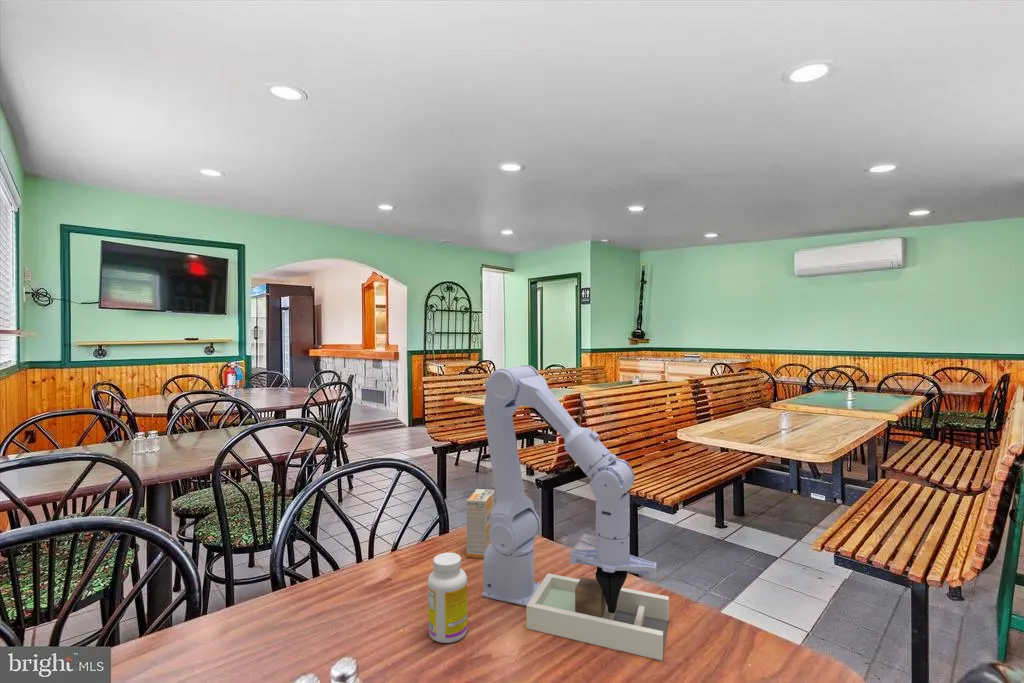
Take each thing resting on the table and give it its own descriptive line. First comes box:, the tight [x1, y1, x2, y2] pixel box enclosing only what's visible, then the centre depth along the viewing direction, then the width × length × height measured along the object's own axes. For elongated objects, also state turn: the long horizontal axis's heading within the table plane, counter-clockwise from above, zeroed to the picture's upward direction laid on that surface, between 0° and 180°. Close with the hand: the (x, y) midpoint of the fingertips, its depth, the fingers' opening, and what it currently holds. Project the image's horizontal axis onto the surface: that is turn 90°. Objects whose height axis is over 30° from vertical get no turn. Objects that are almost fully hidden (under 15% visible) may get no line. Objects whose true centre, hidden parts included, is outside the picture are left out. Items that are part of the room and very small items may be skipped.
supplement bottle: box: [427, 552, 469, 644], centre depth 86 cm, size 7×7×13 cm
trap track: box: [526, 573, 670, 661], centre depth 89 cm, size 22×12×4 cm, turn 68°
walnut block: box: [575, 576, 606, 618], centre depth 89 cm, size 4×4×4 cm
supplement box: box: [465, 488, 495, 560], centre depth 117 cm, size 8×5×13 cm, turn 168°
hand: (612, 609), depth 88 cm, fingers closed
